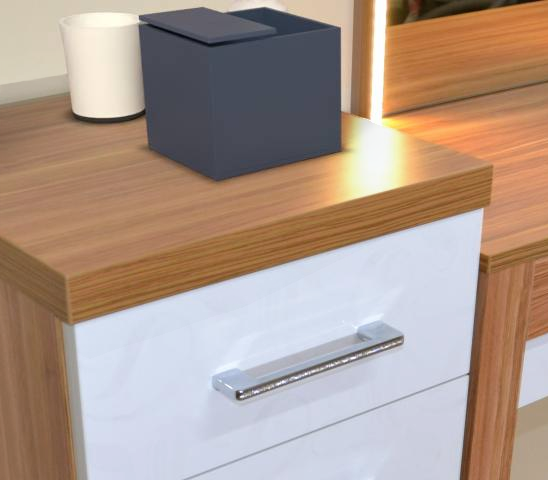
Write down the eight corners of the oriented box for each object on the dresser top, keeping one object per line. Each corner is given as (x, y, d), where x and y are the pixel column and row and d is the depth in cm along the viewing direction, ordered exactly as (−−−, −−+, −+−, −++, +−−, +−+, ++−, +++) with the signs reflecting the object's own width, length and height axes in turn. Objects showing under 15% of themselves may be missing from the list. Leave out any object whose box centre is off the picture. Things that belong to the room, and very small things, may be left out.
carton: (216, 181, 109) (209, 48, 103) (148, 147, 118) (138, 24, 112) (341, 151, 117) (341, 27, 112) (268, 122, 126) (265, 6, 121)
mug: (92, 129, 123) (82, 32, 119) (55, 111, 130) (44, 18, 125) (180, 111, 130) (173, 19, 125) (141, 95, 136) (133, 6, 131)
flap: (209, 43, 103) (209, 38, 103) (138, 20, 112) (138, 15, 112) (276, 33, 107) (276, 28, 107) (203, 11, 116) (203, 6, 116)
